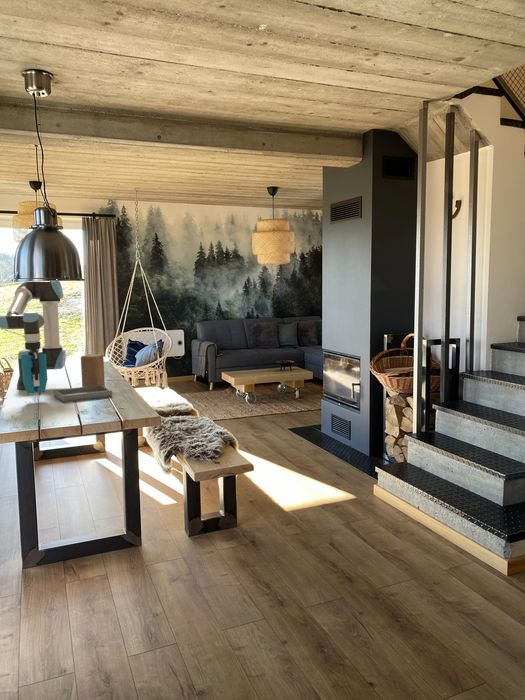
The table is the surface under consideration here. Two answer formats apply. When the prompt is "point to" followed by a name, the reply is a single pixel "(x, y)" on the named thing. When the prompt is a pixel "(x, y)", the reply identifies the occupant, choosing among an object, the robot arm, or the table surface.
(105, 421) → the table surface
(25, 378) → the block
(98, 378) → the wooden block
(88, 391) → the tray
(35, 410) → the table surface
